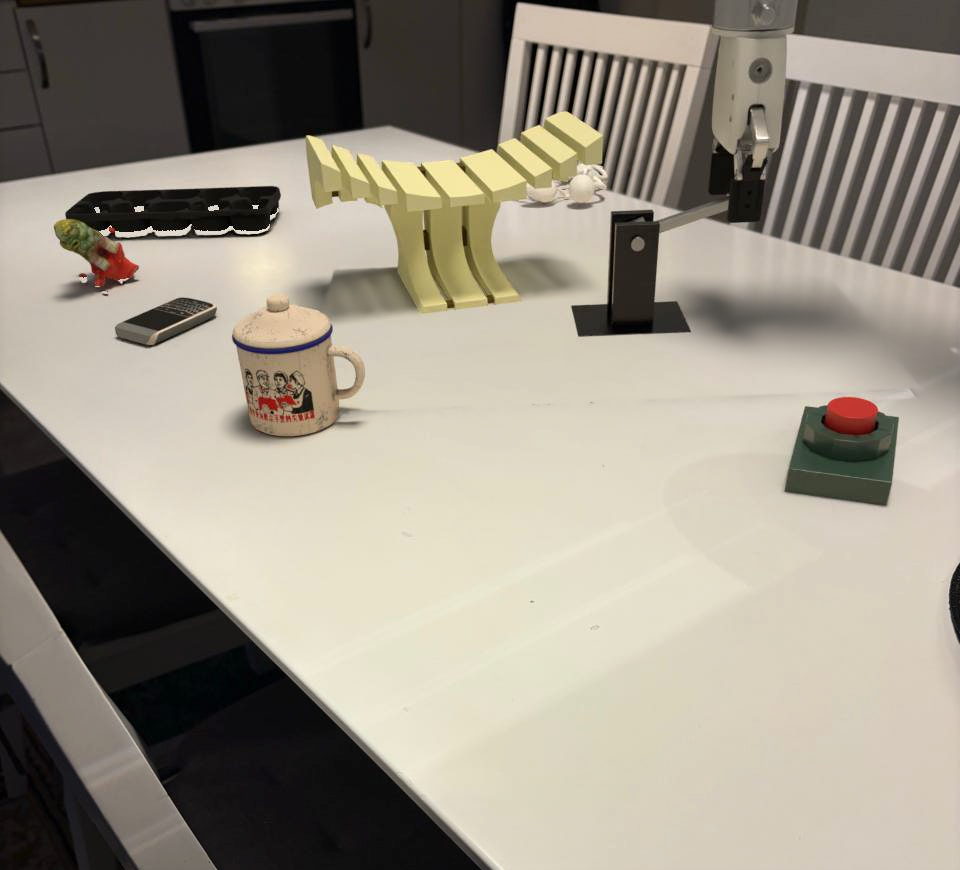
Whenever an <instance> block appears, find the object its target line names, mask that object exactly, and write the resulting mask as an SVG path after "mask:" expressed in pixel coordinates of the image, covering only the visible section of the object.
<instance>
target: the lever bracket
mask: <svg viewBox="0 0 960 870" xmlns="http://www.w3.org/2000/svg"><path fill="white" fill-rule="evenodd" d="M640 217H643V218H644V220H645V222H629V221H631V220H634V219H637V218H640ZM609 219H610V220H609V221H610V222H609V223H610V224H609V244H608V245H609V246H608V247H609V248H608V271H607V293H606V294H607V295H606V303H600V304H598V303H597V304H573V305H570V308H571V312H572V316H573V321H574V324H575V328H576V333H577V337H579V338H583V337H584V338H585V337H608V336H609V337H612V336H632V335H657V334H659V335H660V334H682V333H686V334H687V333H692V330H691V328H690V326H689V324H688V321H687V318H686V317H685V315H684V313H683V310H682V309H681V306H680V304H679V302H678V301H677V300H671V301H655V300H656V285H657V271H658V260H659V259H658V258H659V257H658V256H659V243H660V233H659V230H660V223H659V221H657V220H654V219H655V212H654V210H653V209H634V210H611V211H610V218H609Z"/></svg>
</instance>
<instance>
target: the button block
mask: <svg viewBox="0 0 960 870" xmlns="http://www.w3.org/2000/svg"><path fill="white" fill-rule="evenodd" d="M827 405H828V404H826V405H825V404H824V405H820V406H818V407H816V406H809V405H805V406H804V408H803V412H802V416H801V419H800V423H799V426H798V427H799V428H798V431H797V436H796V438H795V443H794V445H793V450H792V452H791V453H792V454H791V457H790V461H789V466H788V470H787V475H786V479H785V486H784V487H785V488H784V492H786V493H793V494H799V495H806V496H807V495H808V496H813V497H820V498H826V499H835V500H842V501H849V502H857V503H863V504H870V505H877V506H884V507H885V506H887V505H888V502H889V497H890V493H891V490H892V485H893V478H894V469H895V460H896V452H897V451H896V450H897V440H898V430H899V423H900V422H899V421H900V418H899V416H893V415H886V414H885V413H884V412H881V411H879V410H878V414H877V419H876V423H875V428H874V431H873V432H872V433H870V434H864V435H848V434H840V433H837V432H835V431H832V430H830V429H827V428H826V427H825V425H824V422H825V416H826V411H827Z"/></svg>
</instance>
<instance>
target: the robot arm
mask: <svg viewBox="0 0 960 870" xmlns="http://www.w3.org/2000/svg"><path fill="white" fill-rule="evenodd" d="M798 3H799V0H713V8H712V18H711V28H710V29H711V30H710V33H712V34H713V35H715V36H719V37H720V41H719V46H718V54H717V63H716V70H715V80H714V87H713V88H714V89H713V99H712V111H711V112H712V113H711V130H712V134H713V137H714V138H713V140H712V153H711V155H710V165H709V176H708V186H707V192H708V194H709V195H710V196H723V195H726V196H727V189H728V188H729V187H730V194H729V203H728V210H727V212H726V214H727V215H726V220H727V221H728V223H730V224H740V223H742V224H743V223H757V222H759V221H760V220H761V217H762V209H763V202H764V193H765V185H766V179H767V178H766V177H767V165H768V163H769V162H768V161H769V160H768V156H767V154H768V152H769V153H775V152H776V151H778V149H779V148H780V144H781V143H780V142H781V134H782V123H783V122H782V121H783V112H784V101H785V91H786V90H785V89H786V77H787V58H788V57H787V53H788V42H787V41H788V36H787V35H791V34H793V33H794V32H795V26H796V25H795V24H796V17H797V9H798ZM744 157H745V158H744ZM743 159H744V161H743Z"/></svg>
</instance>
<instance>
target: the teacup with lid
mask: <svg viewBox="0 0 960 870" xmlns="http://www.w3.org/2000/svg"><path fill="white" fill-rule="evenodd" d="M333 331H334V328H333V324H332V323H331V320H330V319H329V318H328V316H327V315H325V314H324V313H323V312H321V311H319V310H317V309H315V308H310V307H303V306H300V305H297V304H294V303H291V302H290V299H289V297H288V296H287V295H285V294H283V293H282V294H281V293H277V294H272V295H270V296H268V297H267V299H266V305H265V306H263V307H261V308H259V309H258V310H257V311H255V312H252V313H250V314H248V315H246V316H244V317H242V318H241V319H240V320H238V321H237V322H236V323H235V325H234V327H233V329H232V336H231V340H232V343H233V344H234V345H235V346H236V347H235V348H236V352H237V358H238V362H239V363H238V364H239V368H240V373H241V379H242V384H243V389H244V390H243V391H244V395H245V400H246V405H247V411H248V415H249V416H248V417H249V420H250V423H251V425H252V426H253V427H254V428H255V429H256V430H258V431H259V432H261V433H264V434H267V435H270V436H278V437H298V436H305V435H309V434H313V433H316V432H319V431H321V430H324V429H326V428H328V427H329V426H331V425H332V424H333V423H335V422H336V420H338V418H339V416H340V414H341V410H338V409H339V407H340V400H347V399H351V398H352V397H354V396H355V395H356V394H357V393H358V392H359V391H360V390H361V388H362V386H363V384H364V381H365V377H366V368H365V364H364V361H363V358H362V357H361V356H360V355H359V353H357V352H356V351H355V350H353V349H352V348H349V347H347V346H343V345H342V346H341V345H333V341H332V334H333ZM335 357H340V358H342V359H346V361H349V362H350V363H351V365H352V366H353V368H354V371H355V378H354V383H353V385H352V386H350V387H349V388H341V389H340V388H338V380H337V373H336V372H337V371H336V365H335Z"/></svg>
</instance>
